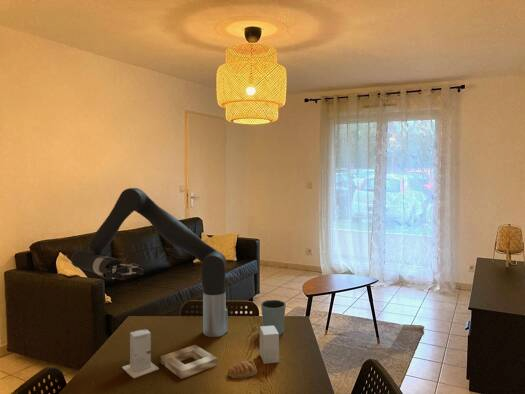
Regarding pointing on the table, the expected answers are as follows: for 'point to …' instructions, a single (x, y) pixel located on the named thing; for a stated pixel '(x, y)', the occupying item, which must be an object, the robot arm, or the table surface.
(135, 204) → the robot arm
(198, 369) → the socket block
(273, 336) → the small box
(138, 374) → the white pad
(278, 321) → the grey green cup
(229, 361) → the table surface
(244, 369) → the pastry
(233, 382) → the table surface
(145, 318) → the table surface
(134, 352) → the skincare box
